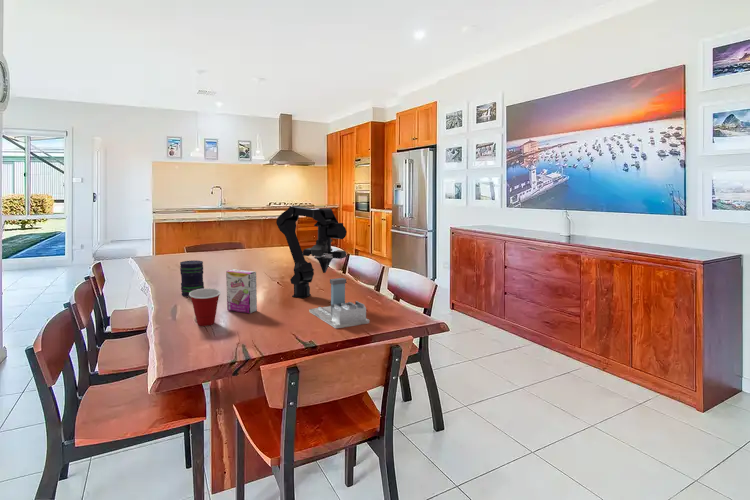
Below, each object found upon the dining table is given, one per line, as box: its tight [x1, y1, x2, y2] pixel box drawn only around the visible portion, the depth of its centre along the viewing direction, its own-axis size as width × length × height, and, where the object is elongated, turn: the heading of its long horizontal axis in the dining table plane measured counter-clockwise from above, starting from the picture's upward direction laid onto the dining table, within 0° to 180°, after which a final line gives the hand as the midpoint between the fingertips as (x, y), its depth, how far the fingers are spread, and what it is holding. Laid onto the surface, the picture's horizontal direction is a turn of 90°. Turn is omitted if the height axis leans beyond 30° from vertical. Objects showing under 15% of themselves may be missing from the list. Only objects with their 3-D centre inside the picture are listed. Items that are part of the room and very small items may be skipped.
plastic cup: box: [189, 287, 222, 327], centre depth 158 cm, size 11×11×12 cm
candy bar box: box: [225, 268, 258, 314], centre depth 175 cm, size 11×5×16 cm, turn 71°
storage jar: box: [179, 260, 205, 298], centre depth 201 cm, size 10×10×15 cm
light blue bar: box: [329, 277, 347, 306], centre depth 167 cm, size 8×6×14 cm
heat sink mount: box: [308, 300, 370, 329], centre depth 169 cm, size 24×14×7 cm, turn 32°
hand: (324, 272), depth 191 cm, fingers closed
